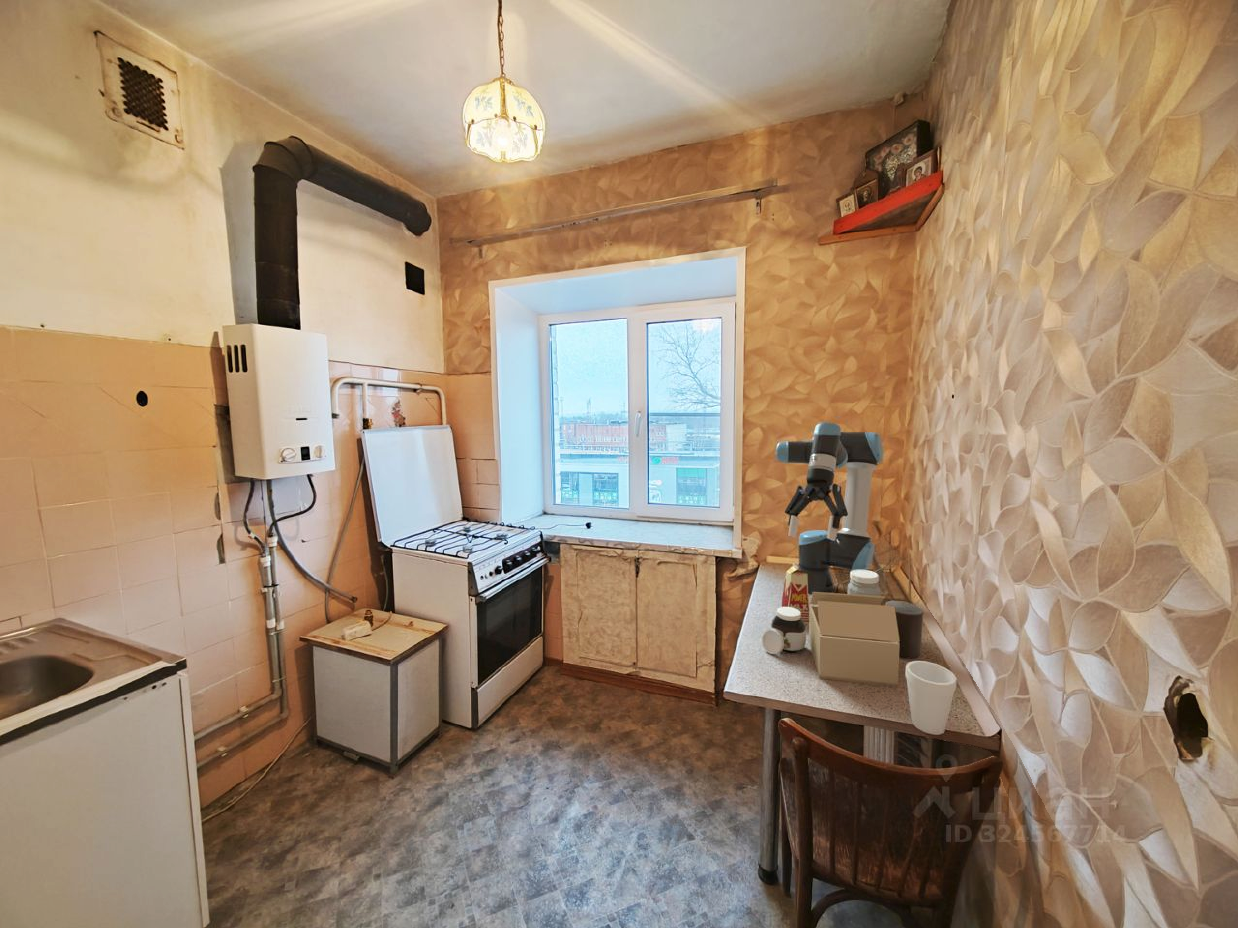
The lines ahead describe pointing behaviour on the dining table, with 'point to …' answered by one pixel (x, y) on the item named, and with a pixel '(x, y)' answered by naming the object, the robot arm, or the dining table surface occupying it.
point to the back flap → (845, 598)
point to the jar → (864, 583)
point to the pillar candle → (908, 628)
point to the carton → (853, 656)
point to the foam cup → (930, 695)
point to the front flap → (858, 620)
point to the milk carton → (796, 592)
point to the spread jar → (785, 632)
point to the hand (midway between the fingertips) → (810, 538)
